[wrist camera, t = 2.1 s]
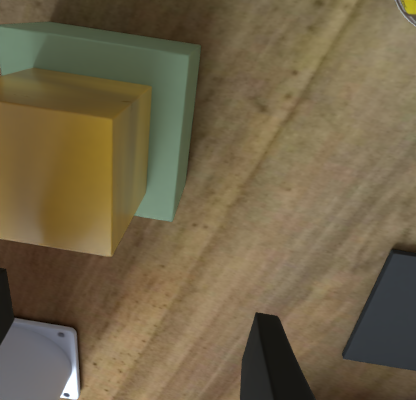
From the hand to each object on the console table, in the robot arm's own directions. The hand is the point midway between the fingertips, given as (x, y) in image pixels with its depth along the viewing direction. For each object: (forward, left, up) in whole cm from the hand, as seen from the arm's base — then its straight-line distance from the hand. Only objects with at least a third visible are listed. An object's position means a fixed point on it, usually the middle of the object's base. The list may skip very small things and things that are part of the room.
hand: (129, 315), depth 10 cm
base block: (-3, +3, -10) cm, 11 cm away
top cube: (-3, +3, -6) cm, 7 cm away
